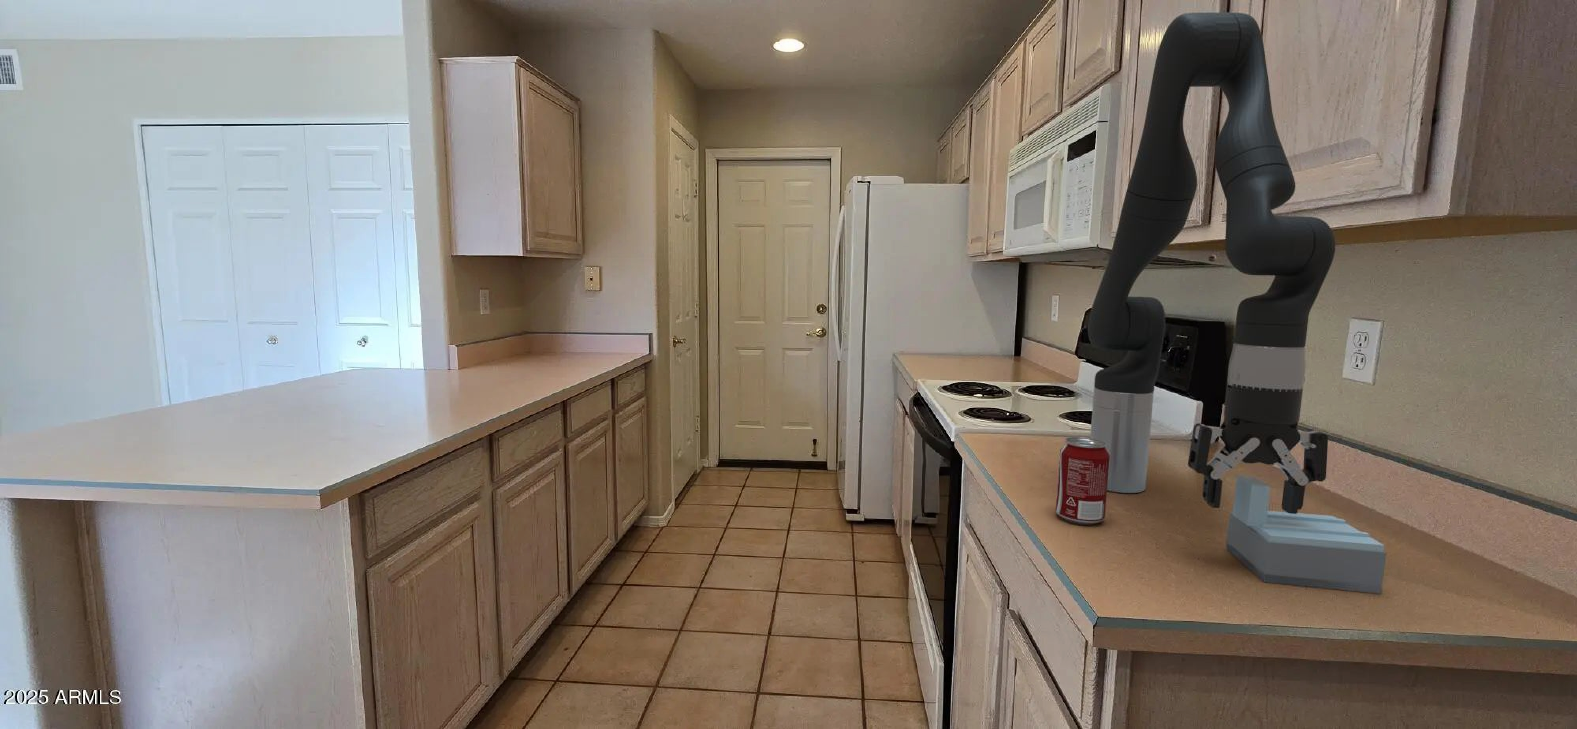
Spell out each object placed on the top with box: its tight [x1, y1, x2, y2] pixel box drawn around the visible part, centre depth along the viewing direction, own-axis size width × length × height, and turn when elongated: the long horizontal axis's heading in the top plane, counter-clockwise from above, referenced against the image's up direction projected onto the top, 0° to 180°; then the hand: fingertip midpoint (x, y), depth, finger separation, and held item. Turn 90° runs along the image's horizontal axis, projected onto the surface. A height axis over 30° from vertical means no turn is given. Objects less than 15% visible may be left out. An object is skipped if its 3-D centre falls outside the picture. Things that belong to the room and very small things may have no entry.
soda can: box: [1055, 436, 1110, 526], centre depth 96 cm, size 7×7×12 cm
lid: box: [1231, 475, 1385, 552], centre depth 79 cm, size 10×13×6 cm
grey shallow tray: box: [1225, 512, 1387, 595], centre depth 80 cm, size 10×12×5 cm
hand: (1250, 508), depth 80 cm, fingers open, 8 cm apart
